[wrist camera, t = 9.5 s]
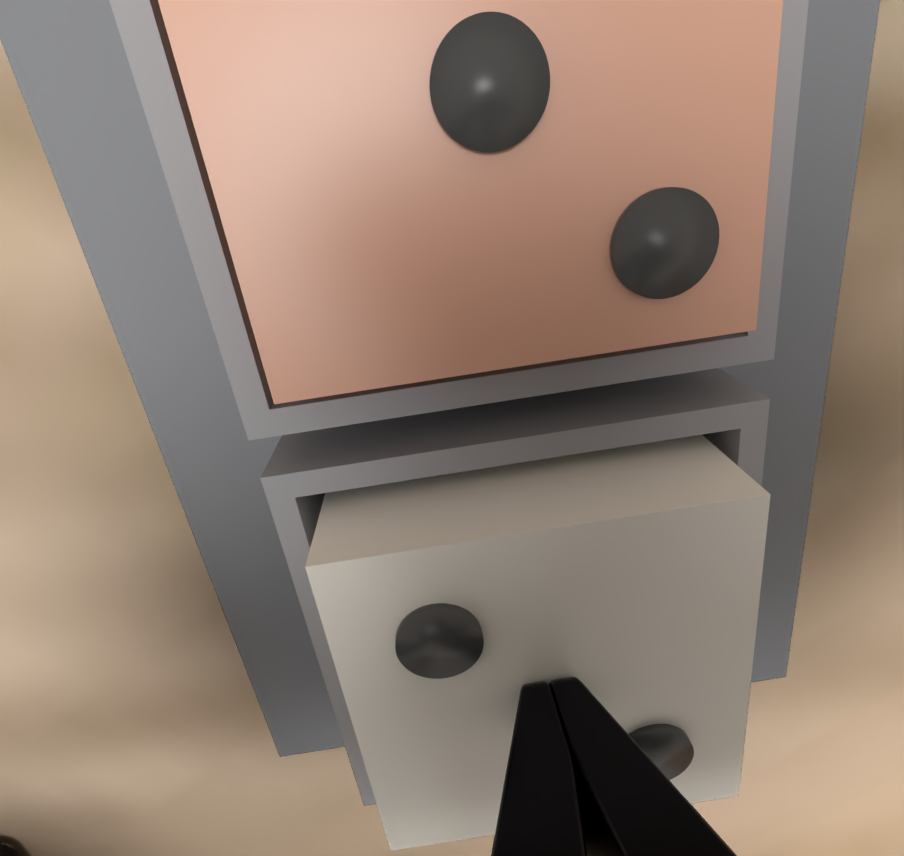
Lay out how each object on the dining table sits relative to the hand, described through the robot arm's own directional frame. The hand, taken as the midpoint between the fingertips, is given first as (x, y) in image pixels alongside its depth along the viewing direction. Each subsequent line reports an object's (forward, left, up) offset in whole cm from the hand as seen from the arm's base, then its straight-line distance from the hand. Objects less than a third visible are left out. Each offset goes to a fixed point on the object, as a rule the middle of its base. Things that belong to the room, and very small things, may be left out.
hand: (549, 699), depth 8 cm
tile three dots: (+8, 0, -3) cm, 9 cm away
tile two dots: (0, 0, -2) cm, 2 cm away
